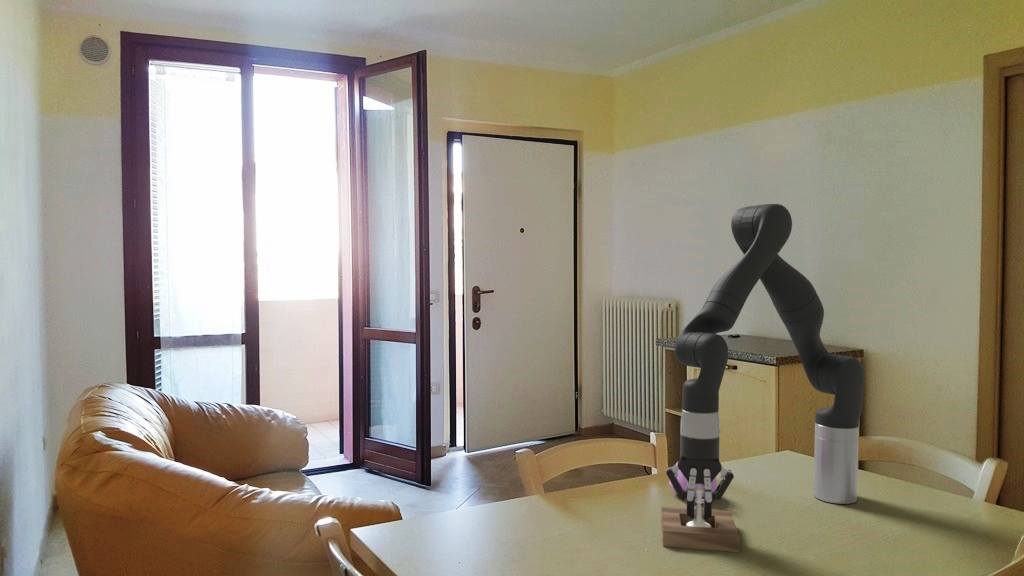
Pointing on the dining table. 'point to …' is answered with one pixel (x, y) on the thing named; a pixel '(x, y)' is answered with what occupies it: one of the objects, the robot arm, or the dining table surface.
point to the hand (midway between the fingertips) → (698, 518)
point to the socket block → (699, 530)
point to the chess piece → (699, 509)
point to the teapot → (683, 484)
